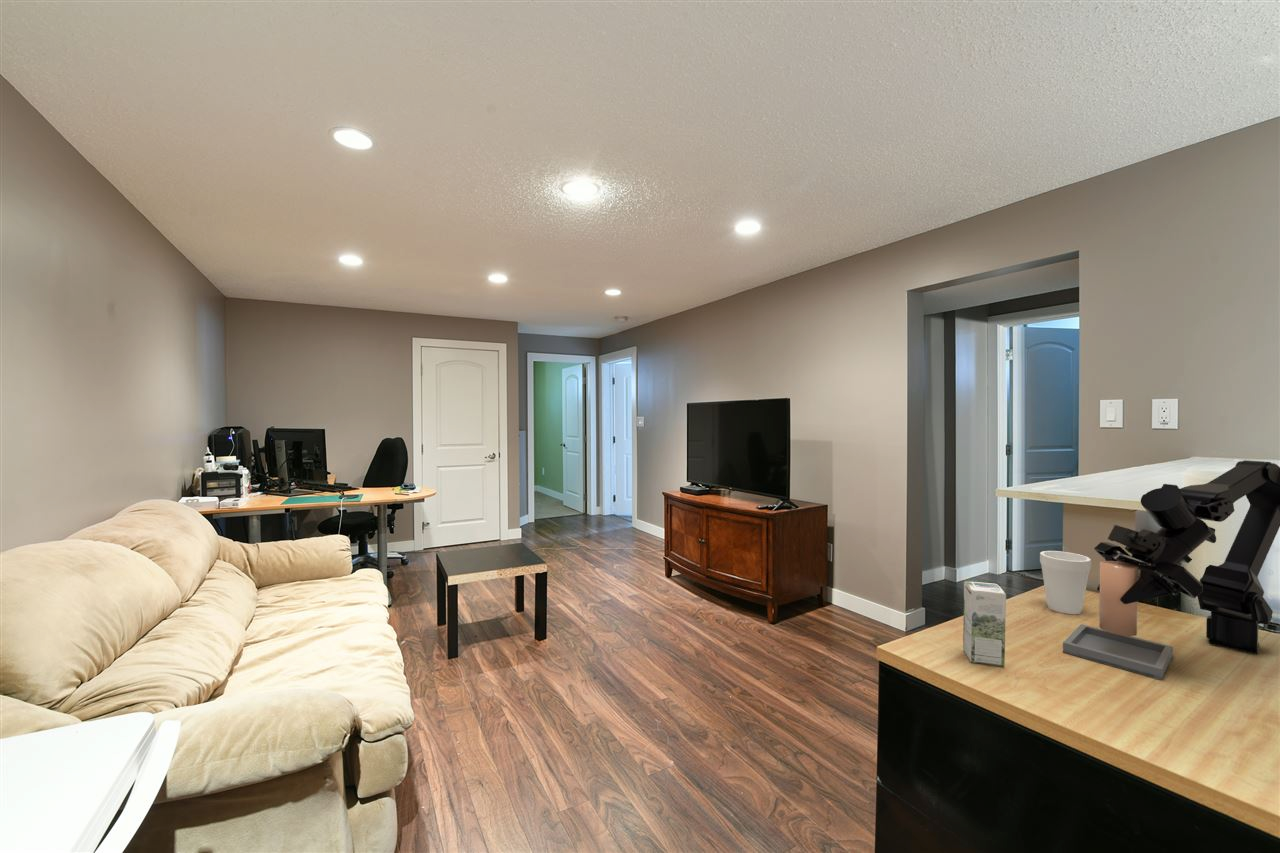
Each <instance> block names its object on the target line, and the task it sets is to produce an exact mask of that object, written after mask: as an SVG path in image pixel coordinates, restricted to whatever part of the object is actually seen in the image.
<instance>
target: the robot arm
mask: <svg viewBox="0 0 1280 853" xmlns="http://www.w3.org/2000/svg"><path fill="white" fill-rule="evenodd" d="M1244 496H1245V497H1246V499H1247V501H1248V503H1249V507H1248V509H1247V512H1246V514H1245V516H1244V519H1243V521H1242V523H1241V525H1240V526H1239V529H1238V532H1237V534H1236V535H1235V538H1234V540H1233V542H1232V544H1231V546H1230V548H1229V551H1228V553H1227V555H1226V557H1225V559H1224V561H1223V563H1221V564H1219V565H1213V564H1209V565H1208V566H1206V567H1205V568H1204V572H1203V575H1202V577H1200V579H1199V580H1198V578H1196V577H1195V576H1194V575H1193V574H1192V573H1191V572H1190V571H1188V569H1187V568H1185V567H1184V566H1182V565H1179V563H1181V562H1183V563H1186V564H1189V563H1190V562H1192V560H1193V559H1192V558H1191V557H1190V556H1189V555H1190V554H1192V552H1193V551H1195V550H1197V548H1198V547H1200V546H1201V545H1202V544H1203V543H1205V541H1206V542H1209V543H1211V544H1215V543H1216V542H1217V536H1216V529H1215V528H1214V527H1211V526H1208V524H1207V523H1206V522H1205V521H1211V522H1216V523H1217V522H1218V523H1220V522H1225V521H1226V519H1228V518H1229V517H1230V516H1231V515H1232V514H1233V513H1234V512H1235V506H1234V503H1235V502H1237V501H1238V500H1240V499H1241V498H1243V497H1244ZM1140 504H1141V506H1142V507H1143V508H1144V510H1145V511H1146V512H1147V514H1148V515H1149V516H1150V517H1151V518H1152V520H1153V521H1154V522H1155V524H1157V526H1159V527H1160V528H1159V529H1158V530H1157V531H1156V532H1154V531H1151V530H1149V529H1145V528H1144V529H1141V530H1140V531H1138V530H1133V529H1130V528H1128V527H1124V526H1120V525H1117V524H1114V525H1113V527H1112V529H1111V531H1110V533H1109V535H1108V537H1107V540H1109V541H1111V542H1108V541H1107V542H1106V541H1105V542H1104V541H1101V542H1099V544H1097V545H1096V546H1095V547H1094V548H1093V549H1094V551H1095V552H1097V554H1098V555H1100V556H1101V557H1102V558H1103V559H1104V561H1118V562H1124V563H1129V564H1132V565H1135V566H1137V567H1138V571H1139V570H1140V574H1139V577H1138V581H1137V582H1136V583H1135V584H1134V585H1133V586H1132V587H1131V588H1130V589H1129V590H1128V591H1127V592H1126V593H1125V594H1124V595H1123V596H1122V598H1121V599H1120V601H1121V602H1122V603H1124V604H1129V603H1133V602H1137V601H1138V602H1140V601H1141V602H1142V601H1146V600H1149V599H1154V598H1159V597H1165V596H1171V595H1173V596H1178V595H1179V593H1180V594H1182V595H1184V596H1187V597H1189V598H1192V599H1196V598H1197V601H1198V604H1199V608H1200V610H1202V611H1208V612H1210V615H1207V617H1206V627H1205V628H1206V630H1205V631H1206V632H1205V633H1206V635H1205V637H1206V638H1207V639H1208V644H1210V645H1212V646H1213V645H1214V646H1218V647H1222V648H1227V649H1230V650H1235V651H1240V652H1243V653H1247V654H1248V653H1249V654H1252V655H1259V649H1260V643H1259V625H1267V626H1268V625H1270V623H1271V621H1272V618H1273V613H1274V610H1273V609H1272V608H1271V606H1270V605H1269V603H1268V602H1267V601H1266V599H1265V598H1264V595H1265V590H1264V588H1263V586H1262V584H1261V582H1260V580H1259V578H1258V577H1259V574H1260V572H1261V569H1262V567H1263V565H1264V563H1265V561H1266V559H1267V556H1268V554H1269V551H1270V549H1271V547H1272V545H1273V543H1274V541H1275V538H1276V536H1277V535H1278V532H1279V529H1280V466H1279V465H1278V464H1276V463H1275V462H1270V461H1265V460H1264V461H1263V460H1262V461H1260V460H1246V459H1244V460H1240V461H1237V463H1236V464H1235V466H1234V467H1233V468H1231V469H1229V470H1228V471H1225V472H1224V473H1222V474H1221V475H1219V476H1217V477H1215V478H1214V479H1212V480H1210V481H1209V482H1206V483H1204V484H1203V483H1202V484H1192V485H1187V486H1184V487H1181V488H1180V487H1179V486H1178V485H1177V484H1171V483H1170V484H1169V483H1163V484H1162V485H1161V487H1160V488H1155V489H1151V490H1149V491H1147V492H1146V493H1145V494H1142V496H1141V497H1140ZM1113 541H1114V542H1116V543H1118V544H1120V545H1123V546H1125V547H1124V548H1122V547H1121V546H1120V545H1117V544H1114V543H1112V542H1113ZM1129 553H1130V554H1131V555H1130V554H1129ZM1177 590H1178V591H1177ZM1096 591H1097V592H1099V593H1100V582H1099V584H1098V586H1097V589H1096ZM1178 592H1179V593H1178ZM1138 602H1137V603H1138Z"/></svg>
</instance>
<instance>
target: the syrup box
mask: <svg viewBox="0 0 1280 853" xmlns="http://www.w3.org/2000/svg"><path fill="white" fill-rule="evenodd" d="M1006 611H1007V594H1006V593H1005V591H1004V590H1003V589H1002V587H1001V586H999V585H998V584H997V583H991V582H990V583H989V582H982V581H981V582H980V581H979V582H978V581H969V580H965V581H963V631H962V632H963V633H962V634H963V635H962V636H963V637H962V641H963V642H962V643H963V644H962V649H963V651H964V653H965V655H966V656H967V659H969V661H970V663H972V664H973V663H974V664H981V665H986V666H988V665H989V666H996V667H1005V665H1006V657H1005V655H1006V623H1007V622H1006V618H1007V615H1006V614H1007V612H1006Z"/></svg>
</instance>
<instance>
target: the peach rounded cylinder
mask: <svg viewBox="0 0 1280 853" xmlns="http://www.w3.org/2000/svg"><path fill="white" fill-rule="evenodd" d="M1138 580H1139V569H1138V567H1137V566H1135V565H1132V564H1129V563H1124V562H1118V561H1106V560H1101V561H1100V562H1099V583H1100V592H1099V606H1098V607H1099V612H1098V614H1099V615H1098V618H1099V620H1098V624H1099V625H1098V628H1099V629H1102V630H1105V631H1107V632H1110V633H1113V634H1118V635H1123V636H1132V637H1136V636H1137V635H1138V602H1139V601H1137V602H1133V603H1129V604H1124V603H1122V602H1121V601H1120V599H1121V598H1122V596H1123V595H1124V594H1125V593H1126V592H1127V591H1128V590H1129V589H1130V588H1131V587H1132V586H1133V585H1134V584H1135V583H1136V582H1137V581H1138Z"/></svg>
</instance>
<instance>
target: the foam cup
mask: <svg viewBox="0 0 1280 853" xmlns="http://www.w3.org/2000/svg"><path fill="white" fill-rule="evenodd" d="M1039 563H1040V565H1041V572H1042V578H1043V585H1044V593H1045V600H1046V604H1047V608H1048V609H1050V610H1052V611H1054V612H1057V613H1061V614H1066V615H1080V614H1081V613H1082V610H1083V608H1084V607H1083V606H1084V600H1085V596H1086V590H1087V585H1088V580H1089V576H1090V575H1089V574H1090V570H1091V568H1092V559H1091V558H1090V557H1088V556H1086V555H1082V554H1078V553H1074V552H1067V551H1060V550H1045V551H1044V550H1043V551H1041V552H1039Z"/></svg>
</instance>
